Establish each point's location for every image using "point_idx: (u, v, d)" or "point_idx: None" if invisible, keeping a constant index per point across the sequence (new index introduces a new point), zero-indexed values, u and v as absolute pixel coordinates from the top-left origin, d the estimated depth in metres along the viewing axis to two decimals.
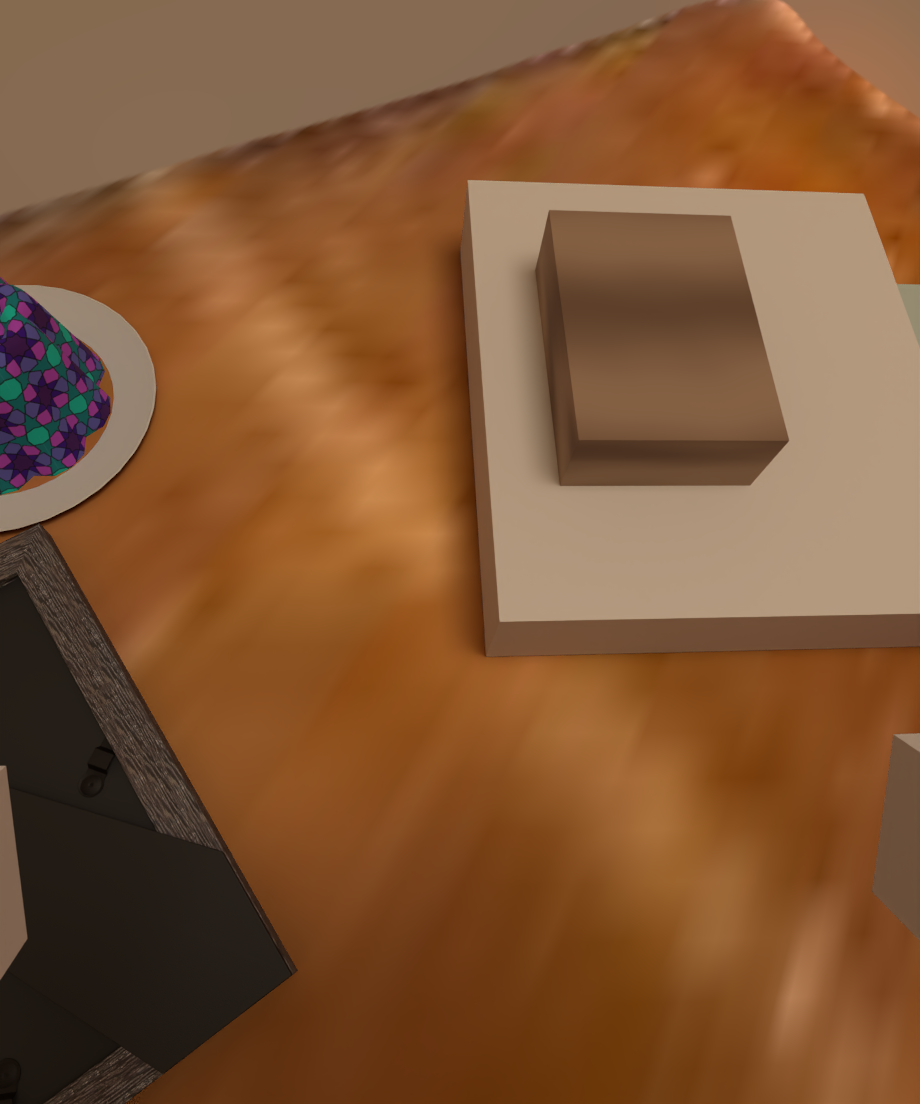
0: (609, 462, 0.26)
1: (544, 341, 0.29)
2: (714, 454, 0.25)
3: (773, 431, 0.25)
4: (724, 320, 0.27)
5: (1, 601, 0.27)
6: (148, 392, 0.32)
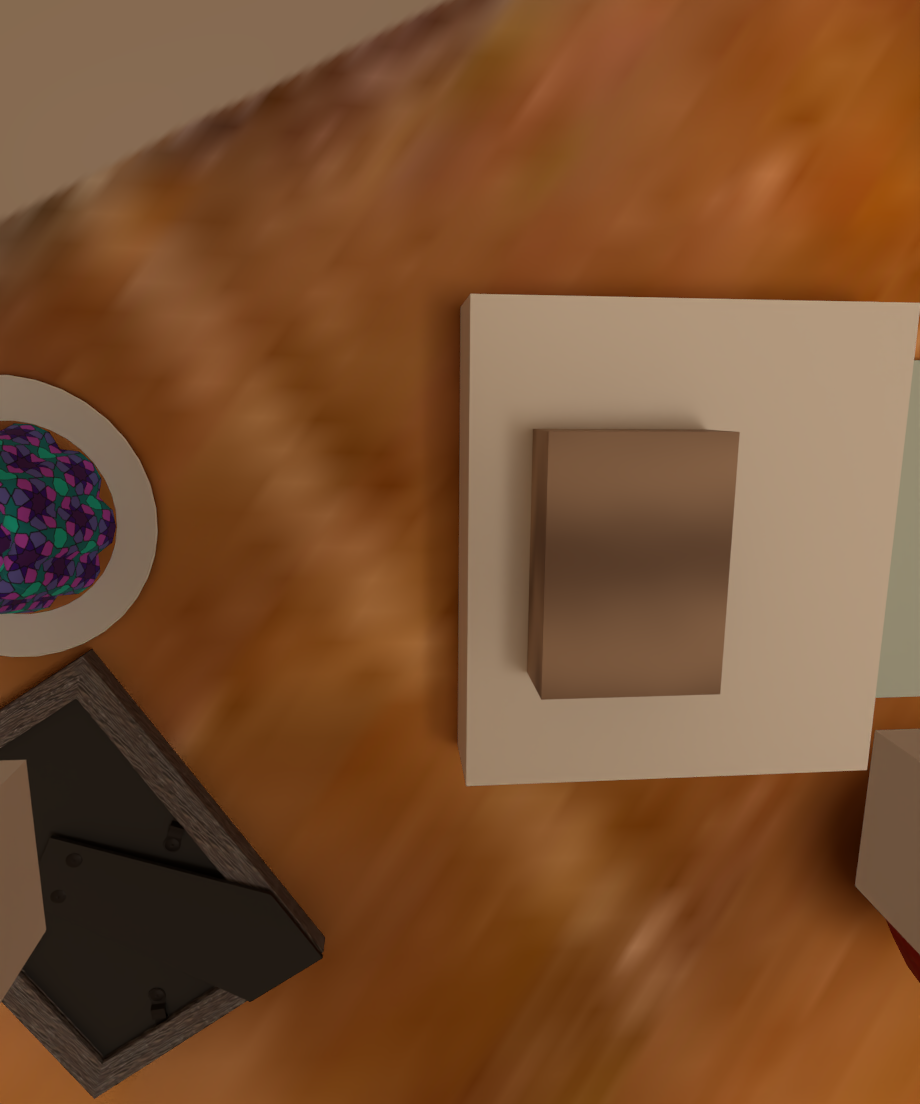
0: None
1: (531, 523, 0.30)
2: None
3: (709, 685, 0.29)
4: (697, 569, 0.28)
5: (69, 715, 0.34)
6: (149, 510, 0.33)
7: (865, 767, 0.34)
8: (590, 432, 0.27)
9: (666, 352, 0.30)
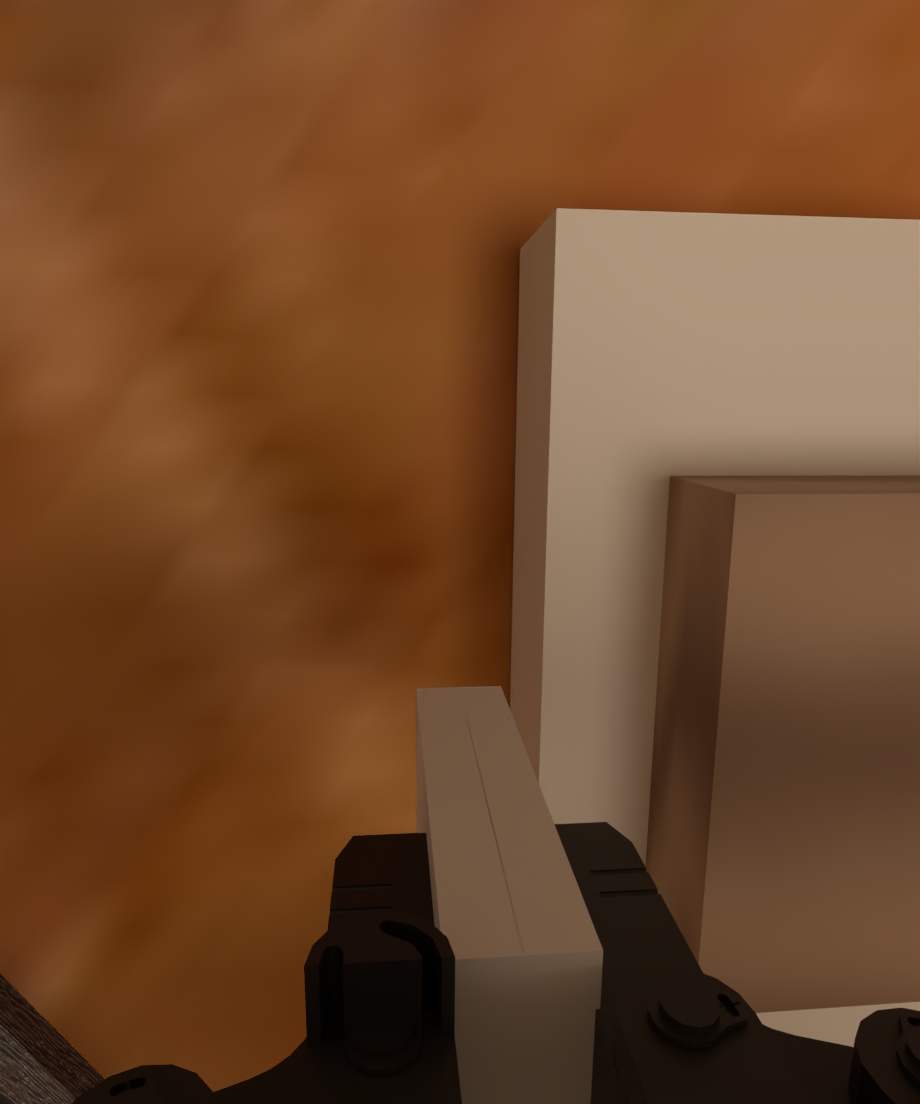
0: None
1: (661, 653, 0.16)
2: None
3: None
4: None
5: None
6: None
7: None
8: (822, 496, 0.13)
9: None
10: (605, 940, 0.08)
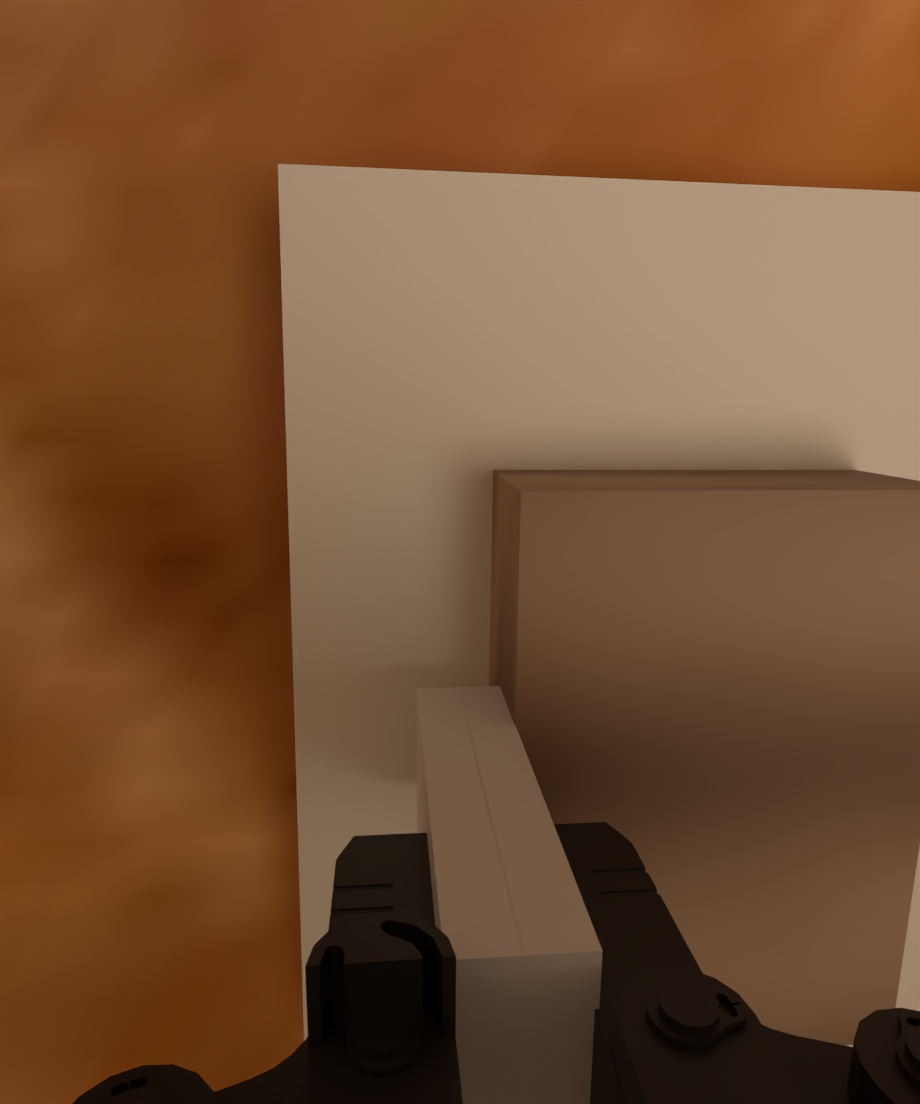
0: None
1: (490, 665, 0.15)
2: None
3: None
4: (857, 793, 0.13)
5: None
6: None
7: None
8: (621, 493, 0.11)
9: (716, 306, 0.14)
10: (604, 940, 0.08)
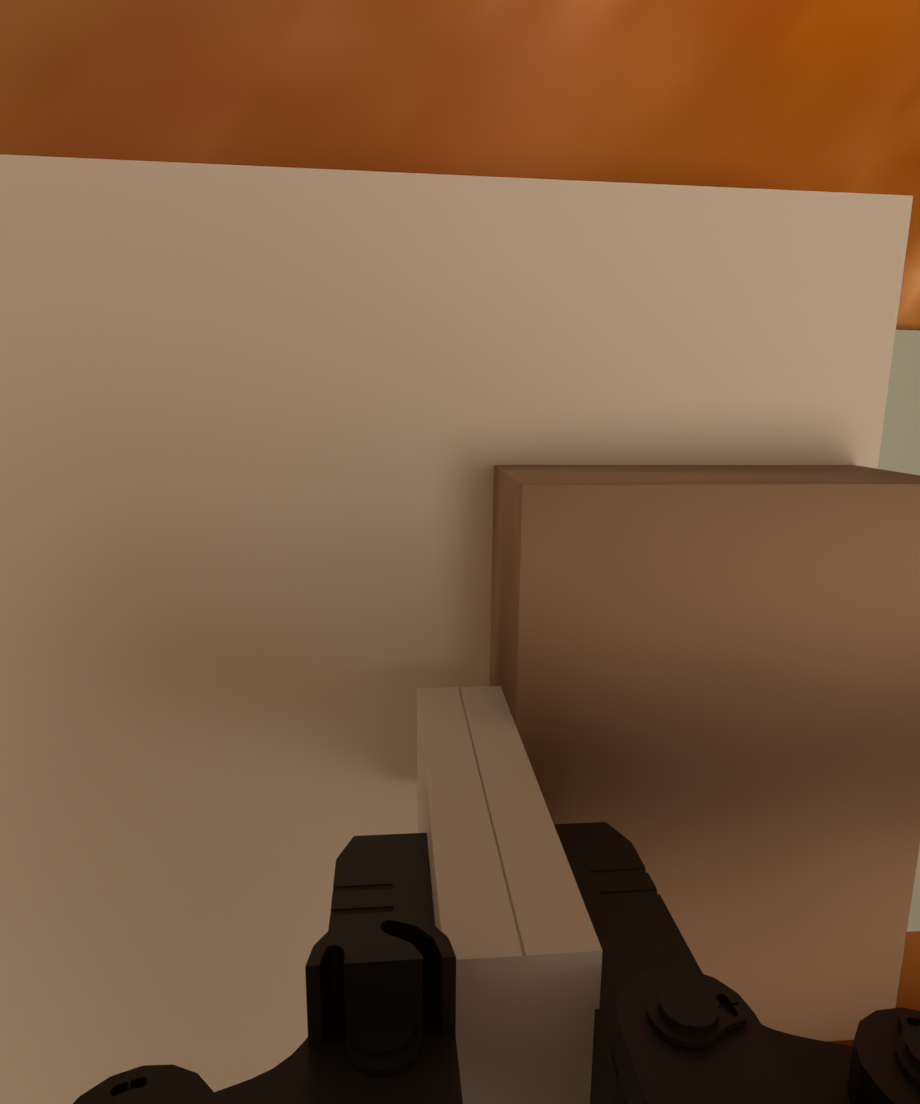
0: None
1: (491, 661, 0.15)
2: None
3: None
4: (859, 788, 0.13)
5: None
6: None
7: None
8: (623, 487, 0.11)
9: (333, 298, 0.13)
10: (604, 940, 0.08)
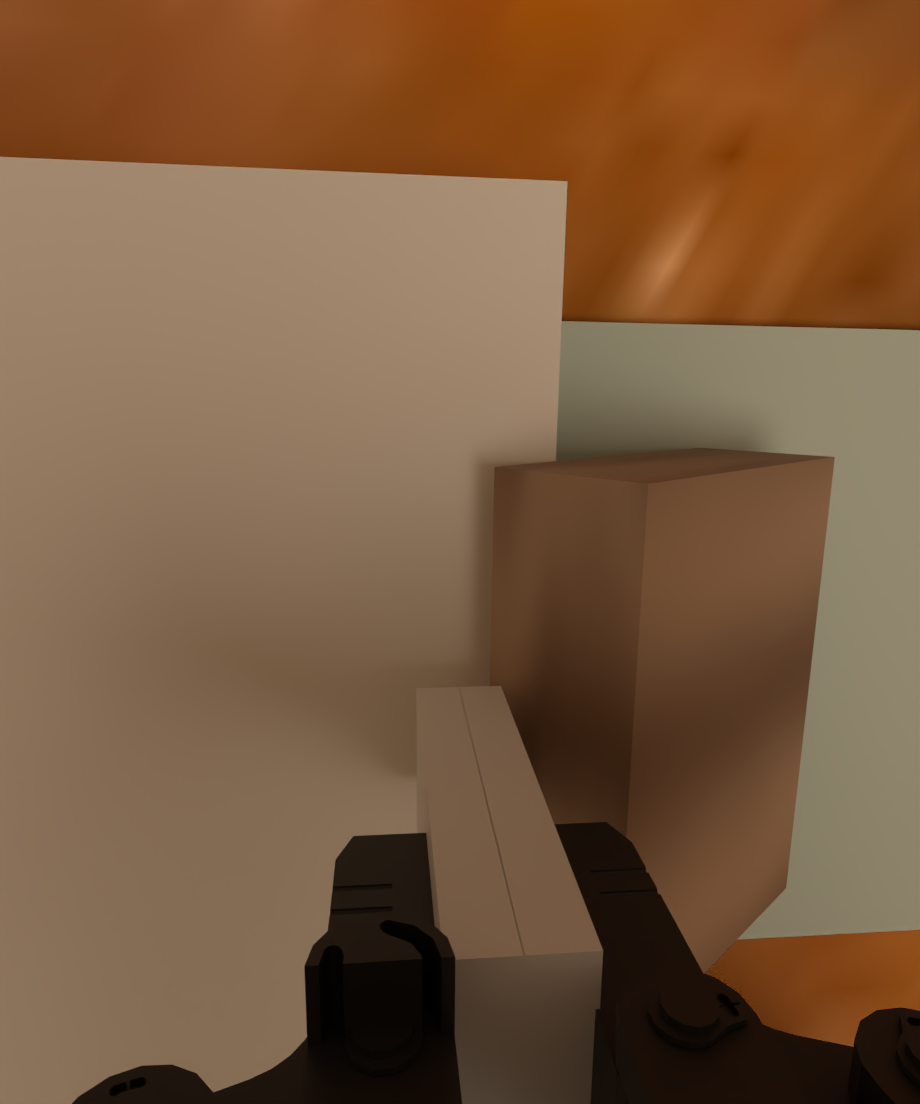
0: None
1: (496, 676, 0.14)
2: None
3: (778, 883, 0.17)
4: (784, 703, 0.16)
5: None
6: None
7: None
8: (700, 478, 0.12)
9: None
10: (605, 940, 0.08)
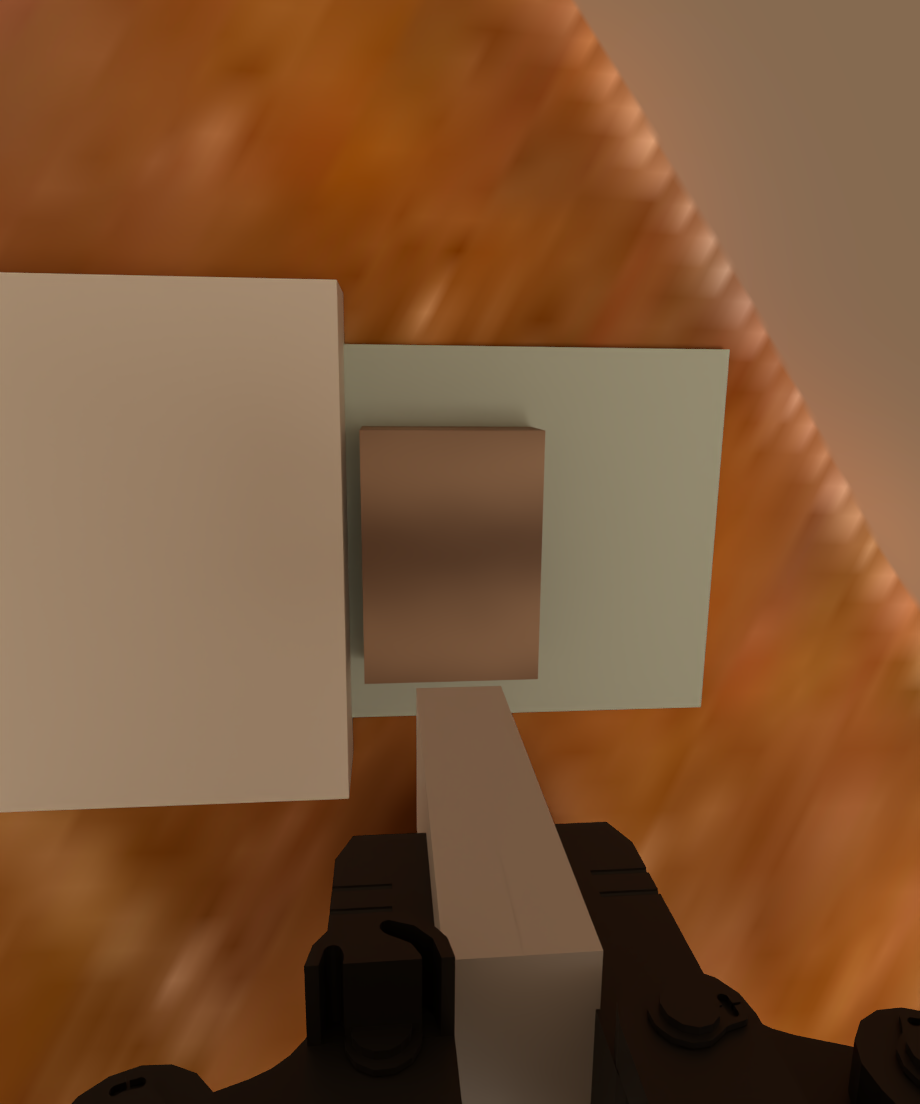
0: None
1: None
2: None
3: (526, 671, 0.31)
4: (510, 560, 0.30)
5: None
6: None
7: (347, 795, 0.31)
8: (399, 431, 0.28)
9: (35, 335, 0.26)
10: (605, 940, 0.08)
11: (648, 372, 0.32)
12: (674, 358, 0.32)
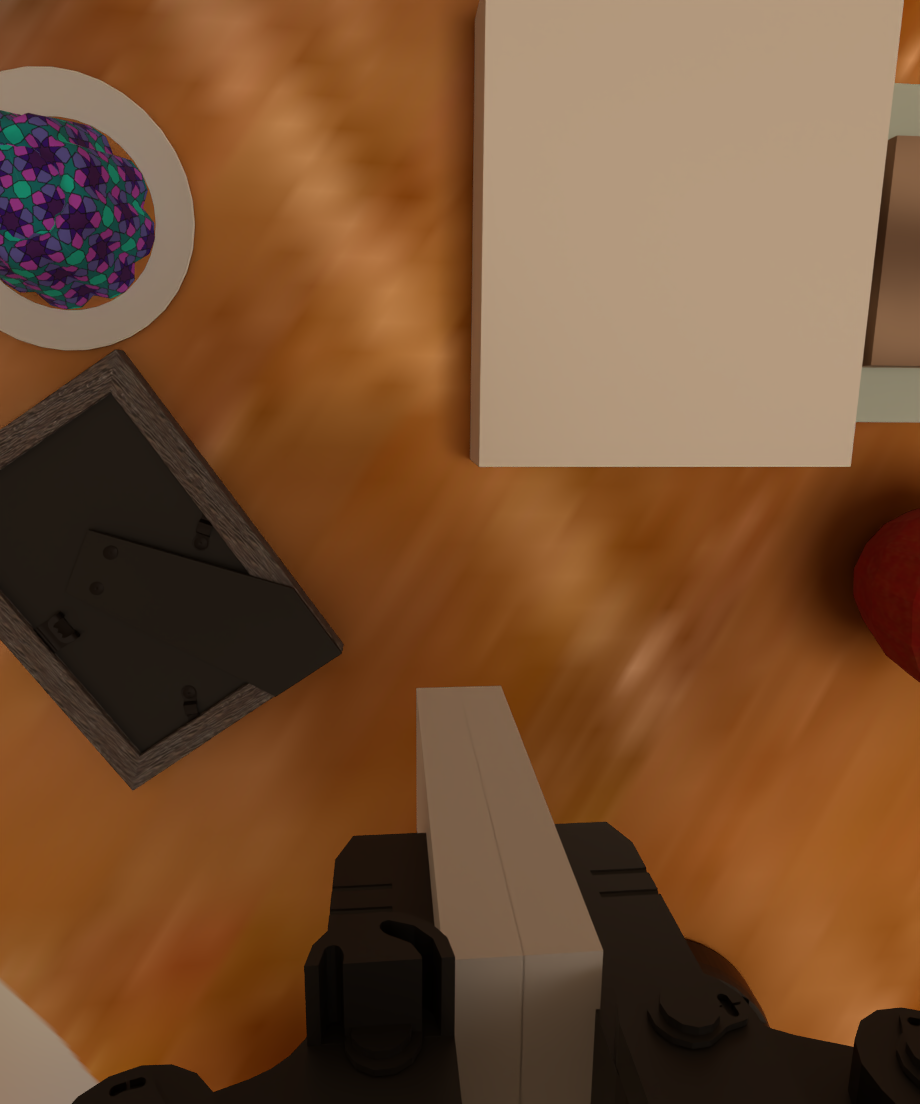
0: (879, 366, 0.38)
1: None
2: None
3: None
4: None
5: (103, 412, 0.36)
6: (188, 227, 0.35)
7: (849, 464, 0.37)
8: None
9: (667, 38, 0.32)
10: (605, 940, 0.08)
11: None
12: None
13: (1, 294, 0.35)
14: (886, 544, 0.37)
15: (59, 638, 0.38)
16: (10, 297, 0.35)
